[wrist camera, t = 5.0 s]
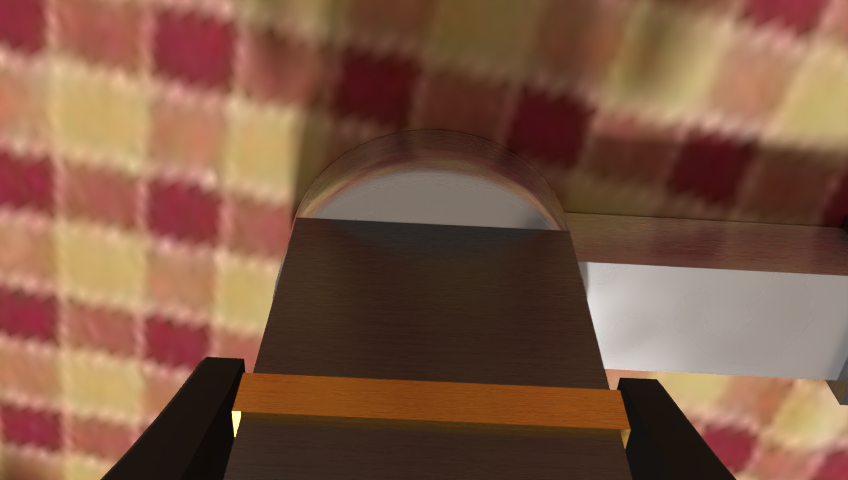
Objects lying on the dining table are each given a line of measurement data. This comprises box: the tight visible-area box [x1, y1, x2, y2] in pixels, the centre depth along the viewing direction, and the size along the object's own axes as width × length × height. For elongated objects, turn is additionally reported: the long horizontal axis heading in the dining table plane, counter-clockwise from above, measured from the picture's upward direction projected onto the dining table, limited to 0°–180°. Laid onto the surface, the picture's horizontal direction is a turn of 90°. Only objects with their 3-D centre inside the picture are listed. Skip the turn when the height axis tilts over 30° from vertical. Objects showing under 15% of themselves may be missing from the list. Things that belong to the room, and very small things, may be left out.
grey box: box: [223, 217, 632, 480], centre depth 13 cm, size 5×5×6 cm
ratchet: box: [273, 130, 848, 405], centre depth 15 cm, size 18×6×5 cm, turn 87°
